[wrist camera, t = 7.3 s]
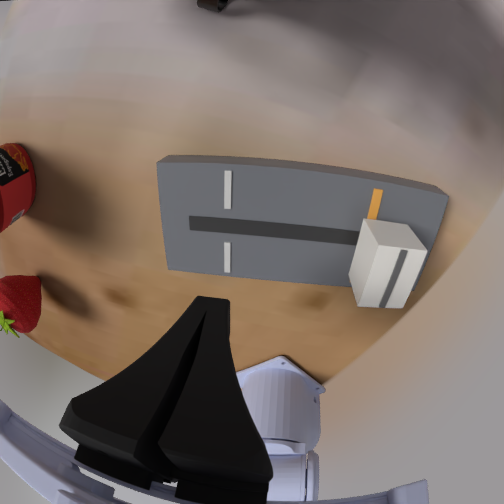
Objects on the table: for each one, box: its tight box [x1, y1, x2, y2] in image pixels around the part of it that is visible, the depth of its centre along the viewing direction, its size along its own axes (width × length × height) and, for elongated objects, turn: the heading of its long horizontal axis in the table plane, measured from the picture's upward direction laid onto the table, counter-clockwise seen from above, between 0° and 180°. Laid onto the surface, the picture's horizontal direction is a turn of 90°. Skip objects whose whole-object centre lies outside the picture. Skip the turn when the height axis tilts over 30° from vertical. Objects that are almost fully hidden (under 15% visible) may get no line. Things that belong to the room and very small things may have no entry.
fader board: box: [157, 155, 449, 291], centre depth 18 cm, size 19×8×2 cm, turn 87°
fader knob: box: [348, 218, 427, 308], centre depth 15 cm, size 3×4×4 cm
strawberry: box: [0, 275, 42, 338], centre depth 21 cm, size 6×8×10 cm
